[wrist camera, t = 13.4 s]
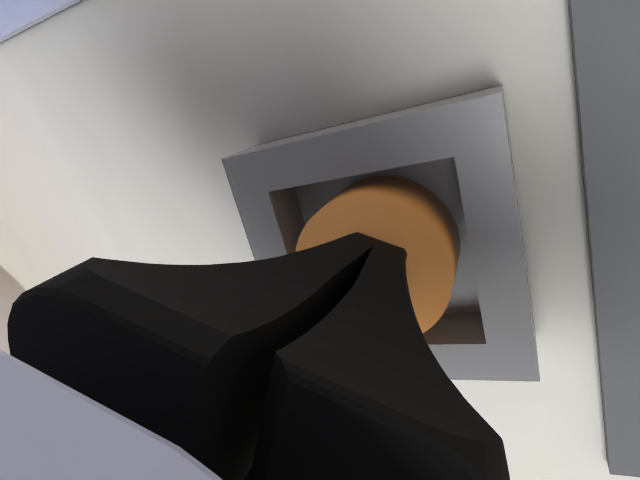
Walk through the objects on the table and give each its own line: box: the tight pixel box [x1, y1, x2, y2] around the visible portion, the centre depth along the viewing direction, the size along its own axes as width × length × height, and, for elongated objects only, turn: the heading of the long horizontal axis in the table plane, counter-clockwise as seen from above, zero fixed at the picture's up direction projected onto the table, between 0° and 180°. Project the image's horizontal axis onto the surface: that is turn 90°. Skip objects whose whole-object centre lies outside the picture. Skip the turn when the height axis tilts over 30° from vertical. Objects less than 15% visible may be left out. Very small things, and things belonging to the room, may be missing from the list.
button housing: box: [222, 85, 540, 381], centre depth 12 cm, size 7×7×2 cm
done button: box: [295, 176, 460, 333], centre depth 12 cm, size 4×4×2 cm
